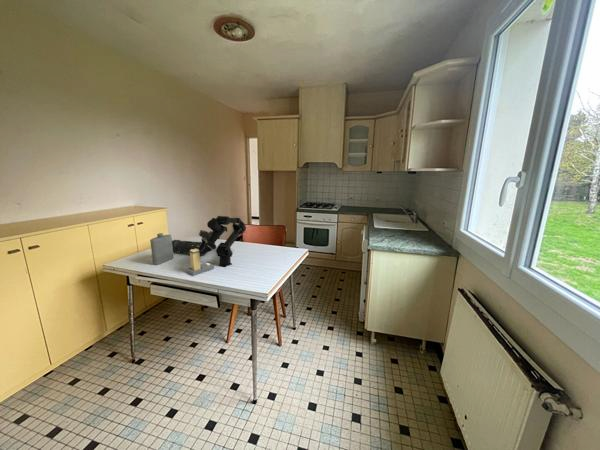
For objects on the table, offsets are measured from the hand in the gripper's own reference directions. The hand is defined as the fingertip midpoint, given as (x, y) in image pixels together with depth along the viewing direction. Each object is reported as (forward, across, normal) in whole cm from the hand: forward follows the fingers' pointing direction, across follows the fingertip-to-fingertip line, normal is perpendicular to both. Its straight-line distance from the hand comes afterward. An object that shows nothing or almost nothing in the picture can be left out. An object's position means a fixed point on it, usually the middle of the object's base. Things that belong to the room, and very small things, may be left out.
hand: (199, 252), depth 143 cm
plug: (+10, 0, +7) cm, 12 cm away
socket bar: (+9, -1, +9) cm, 12 cm away
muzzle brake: (+11, -39, +7) cm, 41 cm away
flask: (+23, -30, -5) cm, 38 cm away
